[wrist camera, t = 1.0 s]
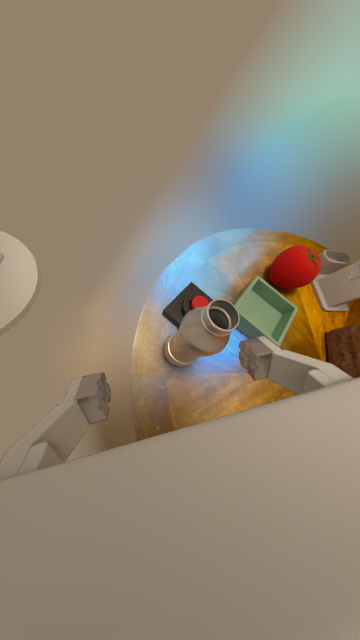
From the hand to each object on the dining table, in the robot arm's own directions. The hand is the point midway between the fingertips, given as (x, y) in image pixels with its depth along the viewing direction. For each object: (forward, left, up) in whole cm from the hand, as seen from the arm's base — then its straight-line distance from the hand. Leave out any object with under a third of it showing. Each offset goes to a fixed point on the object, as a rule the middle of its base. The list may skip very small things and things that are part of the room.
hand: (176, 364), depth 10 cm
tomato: (+10, +44, -25) cm, 52 cm away
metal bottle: (+1, +8, -25) cm, 26 cm away
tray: (+10, +28, -25) cm, 39 cm away
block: (-2, +17, -25) cm, 30 cm away
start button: (-2, +17, -21) cm, 27 cm away
